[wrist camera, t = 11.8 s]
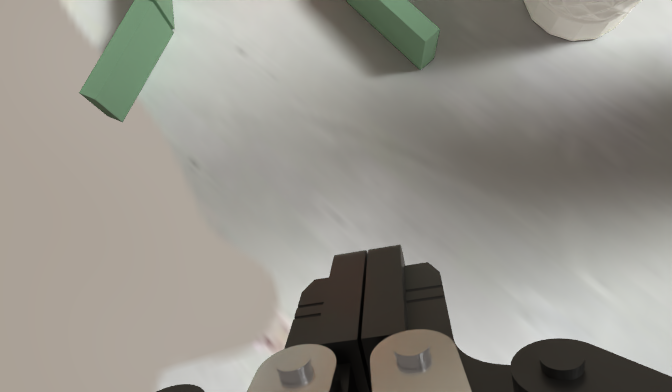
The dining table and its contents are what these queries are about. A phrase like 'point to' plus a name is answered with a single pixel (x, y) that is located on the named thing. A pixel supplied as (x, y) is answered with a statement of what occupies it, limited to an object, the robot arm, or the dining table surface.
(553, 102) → the dining table surface
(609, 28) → the white cup
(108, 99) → the putting stall
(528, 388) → the robot arm
